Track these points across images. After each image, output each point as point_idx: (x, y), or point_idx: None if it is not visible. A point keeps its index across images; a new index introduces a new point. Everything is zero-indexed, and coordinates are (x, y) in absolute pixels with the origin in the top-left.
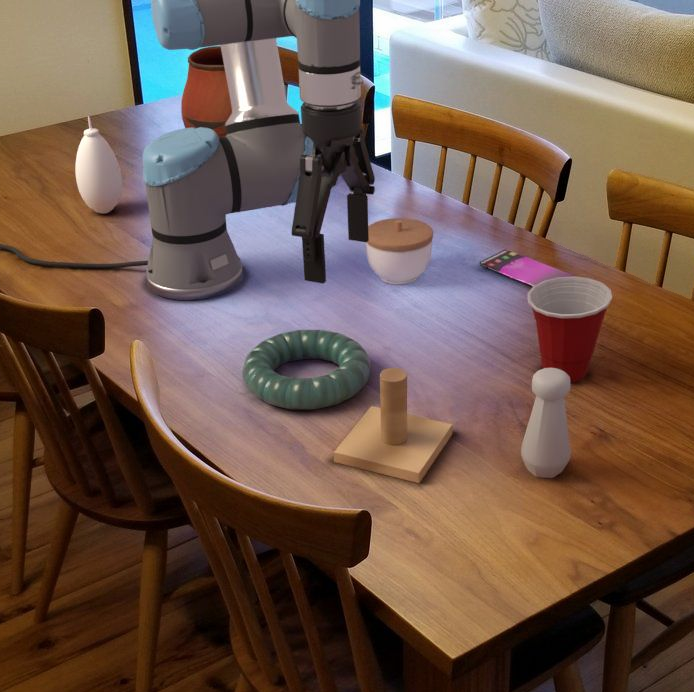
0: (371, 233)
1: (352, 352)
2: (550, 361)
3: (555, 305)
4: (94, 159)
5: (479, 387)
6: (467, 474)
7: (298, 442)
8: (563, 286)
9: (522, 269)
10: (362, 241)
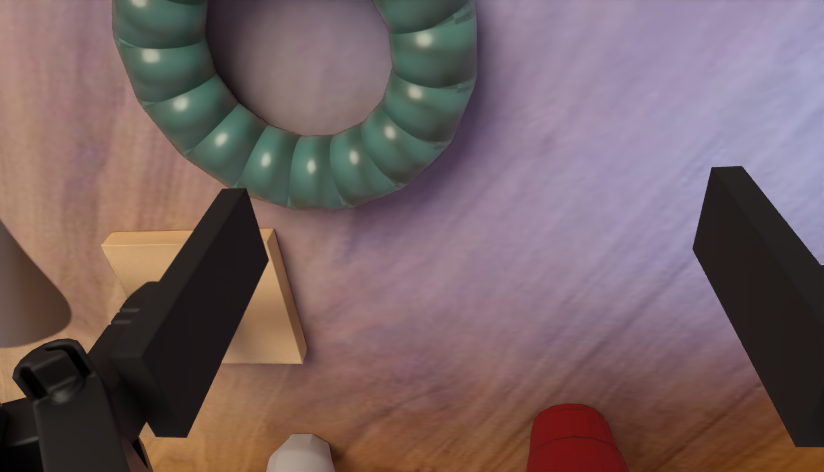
0: None
1: (368, 171)
2: (532, 450)
3: None
4: None
5: (464, 343)
6: (233, 386)
7: (105, 149)
8: None
9: None
10: (697, 233)
